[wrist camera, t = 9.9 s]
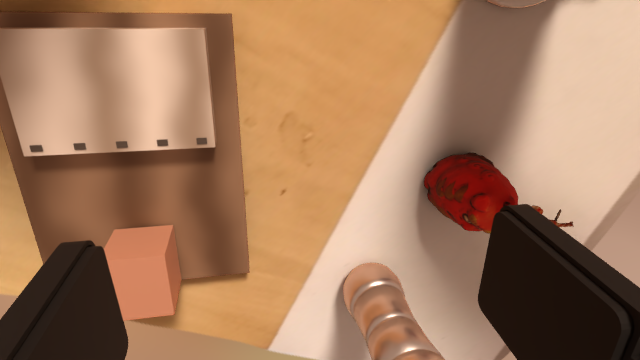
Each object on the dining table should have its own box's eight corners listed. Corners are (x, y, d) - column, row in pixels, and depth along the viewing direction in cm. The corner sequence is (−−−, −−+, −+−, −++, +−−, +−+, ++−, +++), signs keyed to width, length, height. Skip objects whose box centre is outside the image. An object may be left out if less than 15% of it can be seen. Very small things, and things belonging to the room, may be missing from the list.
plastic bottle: (349, 310, 48) (417, 497, 30) (330, 268, 45) (394, 445, 27) (399, 289, 48) (498, 461, 30) (383, 245, 45) (483, 406, 27)
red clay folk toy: (407, 191, 43) (487, 277, 29) (444, 133, 41) (548, 196, 27) (460, 216, 45) (556, 306, 32) (497, 163, 43) (616, 235, 30)
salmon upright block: (173, 224, 37) (164, 255, 32) (181, 279, 39) (174, 314, 35) (114, 229, 36) (96, 261, 31) (126, 284, 38) (111, 321, 34)
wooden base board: (231, 13, 33) (231, 14, 29) (248, 261, 42) (250, 285, 39) (-19, 11, 30) (-55, 12, 26) (60, 279, 39) (42, 308, 35)
